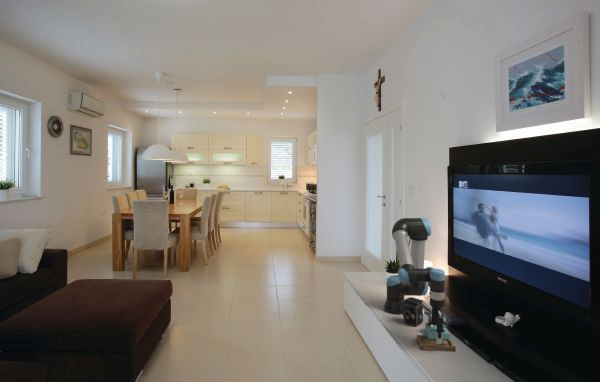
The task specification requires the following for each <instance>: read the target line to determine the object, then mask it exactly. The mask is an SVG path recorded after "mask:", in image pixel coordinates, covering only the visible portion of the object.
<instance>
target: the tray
mask: <svg viewBox="0 0 600 382" xmlns="http://www.w3.org/2000/svg"><path fill="white" fill-rule="evenodd" d="M416 340H417V343H418V345H419V347H420V350H421V351H435V352H436V351H439V352H456V346H455V344H454V342H453V341H452V340H451V338H450V339H442V344H436V339H432V338H428V337H427V336H423V335H422V334H416Z"/></svg>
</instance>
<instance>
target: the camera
mask: <svg viewBox="0 0 600 382" xmlns="http://www.w3.org/2000/svg"><path fill="white" fill-rule="evenodd" d="M402 312H403V314H402V317H403V320H404V321H405V324H407V325H411V326H413V327H417V326H419V325H421V324H422V323H423V322H424V304H423V299H420V298H416V297H414V296H413V297H411V296H409V297H407V298H404V310H402Z"/></svg>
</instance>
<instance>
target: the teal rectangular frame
mask: <svg viewBox="0 0 600 382" xmlns="http://www.w3.org/2000/svg"><path fill="white" fill-rule="evenodd" d="M436 331H437V328H432V327H426V326H424V328H422V331H421V333H422V334H421V335H423V336H427V337H428V338H432V339H436ZM450 335H451V333H450V332H449V330H448V329H447V328H446V327H443V333H442V339H450V340H451V336H450Z"/></svg>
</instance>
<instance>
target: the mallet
mask: <svg viewBox="0 0 600 382" xmlns="http://www.w3.org/2000/svg"><path fill="white" fill-rule="evenodd" d="M424 313H425V315H426V316H428V318H427V322H426V323H425V327H432V328H433V324H432V311H430V310H429V311H427V310H426V311H424Z"/></svg>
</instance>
